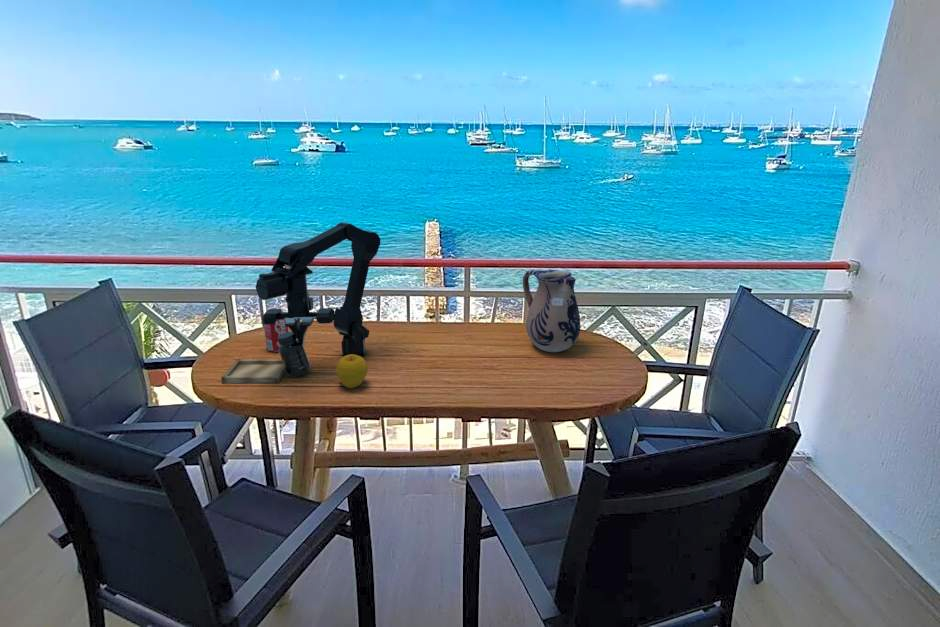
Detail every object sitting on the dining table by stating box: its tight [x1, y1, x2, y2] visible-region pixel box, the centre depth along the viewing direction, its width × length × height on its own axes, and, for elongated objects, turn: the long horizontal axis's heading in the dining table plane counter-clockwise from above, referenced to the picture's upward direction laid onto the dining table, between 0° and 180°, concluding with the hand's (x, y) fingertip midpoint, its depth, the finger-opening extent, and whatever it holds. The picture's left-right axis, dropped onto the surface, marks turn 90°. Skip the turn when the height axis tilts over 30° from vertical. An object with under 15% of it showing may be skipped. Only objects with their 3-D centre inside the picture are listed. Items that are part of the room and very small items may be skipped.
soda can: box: [263, 310, 289, 353], centre depth 173 cm, size 7×7×12 cm
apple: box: [335, 354, 368, 389], centre depth 151 cm, size 9×8×9 cm
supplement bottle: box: [278, 330, 311, 378], centre depth 156 cm, size 7×7×12 cm
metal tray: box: [220, 358, 287, 384], centre depth 158 cm, size 16×12×2 cm
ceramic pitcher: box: [522, 268, 581, 353], centre depth 177 cm, size 18×21×25 cm
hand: (302, 344), depth 155 cm, fingers closed, pressing on supplement bottle
